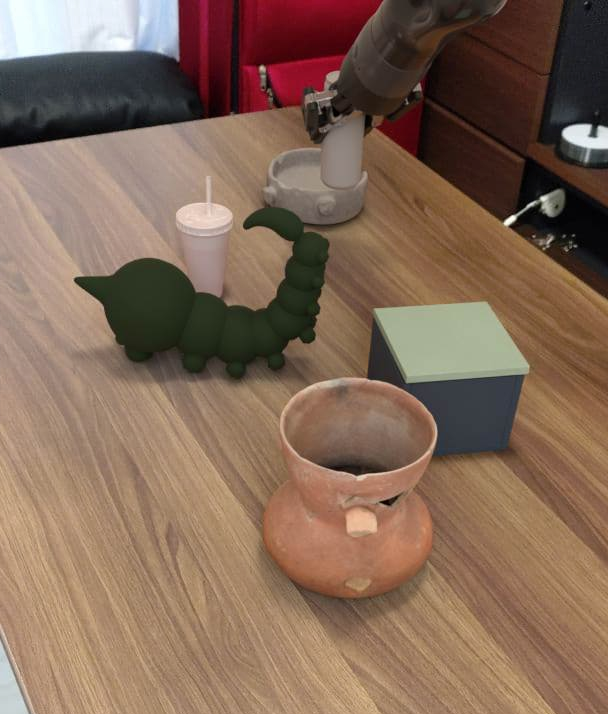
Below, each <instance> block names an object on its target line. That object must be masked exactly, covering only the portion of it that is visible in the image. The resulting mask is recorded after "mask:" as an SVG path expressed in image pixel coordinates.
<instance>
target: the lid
mask: <svg viewBox="0 0 608 714" xmlns="http://www.w3.org/2000/svg"><path fill="white" fill-rule="evenodd" d="M372 315H373V316H372V317H374V318H375V320H376V322H377V324H378V326H379V328H380V330H381V333H382V335H383V337H384V339H385V341H386V343H387V345H388V347H389V349H390V351H391V353H392V355H393V358H394V360H395V362H396V364H397V366H398V368H399V370H400V372H401V374H402V376H403V378H404V380H405V383H417V382H430V381H443V380H456V379H469V378H482V377H495V376H508V375H521V374H524V375H529V374H530V369H531V366H530V364H529V363H528V361H527V360H526V359H525V357H524V355H523V354H522V352H521V350H520V349H519V348H518V346H517V345H516V344H515V342H514V340H513V339H512V337H511V336H510V334H509V333H508V331H507V330H506V328H505V327H504V325H503V323H502V322H501V320H500V319H499V317H498V316H497V315H496V313H495V312H494V310H493V308H492V307H491V306H490V304H489V303H488V301H473V302H472V301H471V302H456V303H440V304H426V305H425V304H423V305H409V306H407V305H406V306H393V307H377V308H373V314H372Z"/></svg>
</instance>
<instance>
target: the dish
mask: <svg viewBox="0 0 608 714" xmlns="http://www.w3.org/2000/svg"><path fill="white" fill-rule="evenodd" d="M320 172H321V148H320V147H301V148H295V149H291V150H286V151H283V152H281V153H279V154H278V155H277V156H276V157H273V159H271V161H270V162H269V165H268V169H267V173H266V182H265V183H266V184H265V185H266V186H263V187H262V188H261V197H262V199H263V200H264V202H265V203H266V204H267V205H269V207H280V208H285V209H287V210H289V211H292V212H294V213H295V214H296V215H297V216H299V217H300V219H301V221H302V223H303V224H311V225H335V224H339V223H343V222H347V221H348V220H351V219H353V218H355V217H356V216H357V215H358V214H359V213H360V212H361V210H362V209H363V206H364V203H365V200H366V196H367V191H368V185H369V184H368V183H369V176H368V175H369V174H368V172H367V171H365V170H363V171H361V179H360V182H359V183H358V184H357V185H356V186H355V187H354V188H352V189H348V190H335V189H331V188H329V187H327V186H326V185H325V184H324V183H323V182H322V180H321V177H320Z"/></svg>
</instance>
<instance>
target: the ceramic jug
mask: <svg viewBox="0 0 608 714" xmlns="http://www.w3.org/2000/svg"><path fill="white" fill-rule="evenodd" d="M278 433H279V434H278V435H279V441H280V446H281V451H282V455H283V458H284V463H285V465H286V468H287V471H288V474H289V476H290V478H288V479H287V480H285V482H283V483H281V485H280V486H279V487H278V488H277V489H276V490H275V491H274V493H273V494H272V495H271V497H270V499H269V500H268V502H267V504H266V506H265V509H264V512H263V515H262V522H261V532H262V539H263V543H264V546H265V549H266V550H267V553H268V554H269V557H270V558H271V559H272V560H273V562H274V563H275V564H276V565H277V566H278V567H279V569H280V570H281V571H282V573H283V574H284V575H285V576H286V577H287V578H289V579H290V580H291V581H293V582H294V583H296V584H298V585H299V586H302V587H303V588H305V589H307V590H309V591H312V592H315V593H317V594H320V595H324V596H328V597H333V598H338V599H339V598H340V599H365V598H372V597H375V596H380V595H384V594H385V593H389V592H391V591H393V590H395V589H397V588H399V587H400V586H403V585H404V584H406V583H408V582H409V581H410V580H411V579H412V578H413V577H414V576H415V575H416V574H417V573H419V571H420V570H421V568H423V567H424V565H425V563H426V561H427V560H428V558H429V556H430V554H431V551H432V549H433V545H434V540H435V539H434V537H435V531H434V524H433V519H432V516H431V513H430V511H429V508H428V507H427V505H426V503H425V501H424V500H423V499H422V497H421V496H420V495H419V494H418V493H417V492H416V491H415V490H414V488H415V487H416V486H417V484H418V482H419V481H420V480H421V478H422V476H423V474H424V473H425V471H426V469H427V467H428V465H429V463H430V462H431V459H432V457H433V456H432V454H433V451H434V448H435V445H436V441H437V426H436V423H435V421H434V418H433V416H432V415H431V413H430V412H429V411H428V410H427V408H426V407H425V406H424V405H423V404H422V403H421V402H420V401H418V400H417V399H416V398H415V397H414V396H412V395H411V394H409V393H407V392H406V391H404V390H402V389H400V388H398V387H396V386H394V385H392V384H389V383H386V382H382V381H377V380H368V379H367V377H366V378H365V377H353V376H351V377H350V376H349V377H348V376H347V377H338V378H334V379H328V380H324V381H319V382H315V383H313V384H311V385H308V386H306V387H305V388H303V389H301V390H299V392H297V393H295V394H294V395H293V396H292V398H290V399H289V400H288V402H287V403H286V404H285V406H284V407H283V409H282V411H281V414H280V418H279V423H278Z"/></svg>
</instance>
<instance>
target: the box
mask: <svg viewBox="0 0 608 714" xmlns="http://www.w3.org/2000/svg"><path fill="white" fill-rule="evenodd" d="M371 325H372V326H371V336H370V345H369V351H368V352H369V353H368V363H367V372H366V379H368V380H377V381H382V382H386V383H389V384H392V385H394V386H396V387H398V388H400V389H402V390H404V391H406V392H407V393H409V394H411V395H412V396H414V397H415V398H416V399H417V400H418V401H420V402H421V403H422V404H423V405H424V406H425V407H426V408H427V410H428V411H429V412H430V413H431V415H432V416H433V418H434V421H435V423H436V426H437V441H436V445H435V448H434V451H433V454H432V457H441V456H442V457H443V456H455V455H462V454H473V453H474V454H475V453H485V452H496V451H497V452H498V451H507V450H508V447H509V442H510V438H511V434H512V430H513V426H514V422H515V417H516V414H517V409H518V405H519V401H520V396H521V392H522V389H523V384H524V380H525V376H526V374H521V375H508V376H495V377H482V378H469V379H456V380H443V381H430V382H417V383H405V380H404V378H403V376H402V374H401V372H400V370H399V368H398V366H397V364H396V362H395V360H394V358H393V355H392V353H391V351H390V349H389V347H388V345H387V343H386V341H385V339H384V337H383V335H382V333H381V330H380V328H379V326H378V324H377V322H376V320H375V318H374V316H372V324H371Z"/></svg>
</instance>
